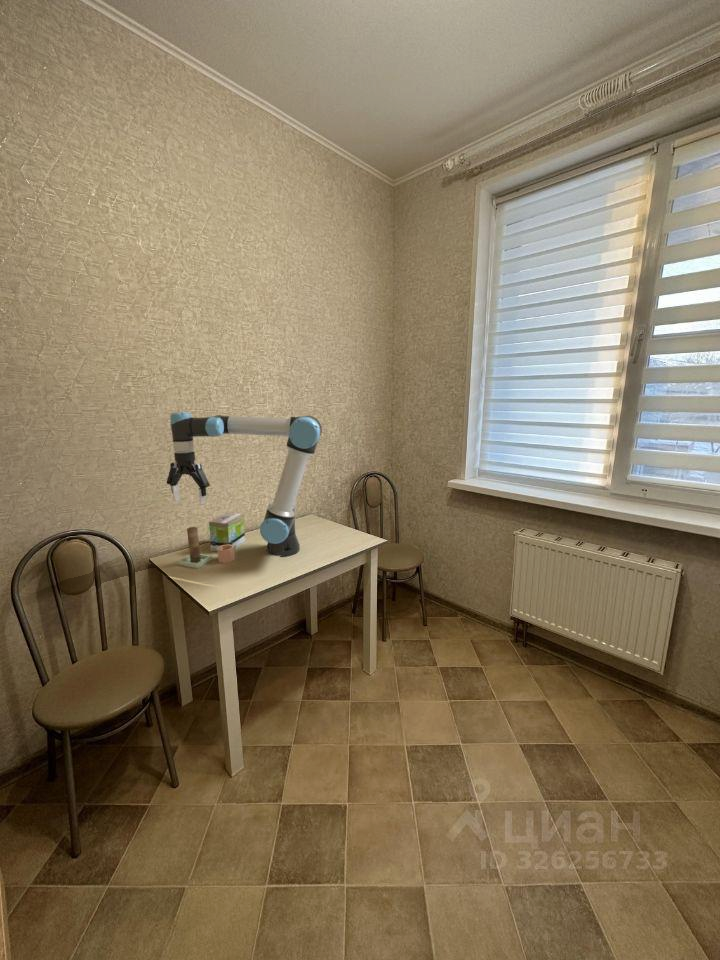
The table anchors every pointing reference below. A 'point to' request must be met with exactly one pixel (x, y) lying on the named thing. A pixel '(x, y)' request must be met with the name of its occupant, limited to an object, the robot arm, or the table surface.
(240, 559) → the table surface
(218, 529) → the tea box
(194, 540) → the dowel
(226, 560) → the cup
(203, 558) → the tray
